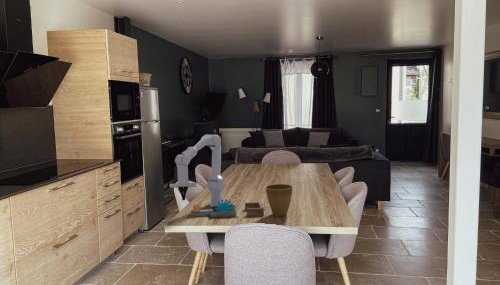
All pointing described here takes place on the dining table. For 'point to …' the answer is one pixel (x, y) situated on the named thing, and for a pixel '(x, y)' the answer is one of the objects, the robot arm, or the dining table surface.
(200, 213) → the socket
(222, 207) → the gear
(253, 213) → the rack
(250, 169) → the dining table surface
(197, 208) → the orange block
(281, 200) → the plant pot
